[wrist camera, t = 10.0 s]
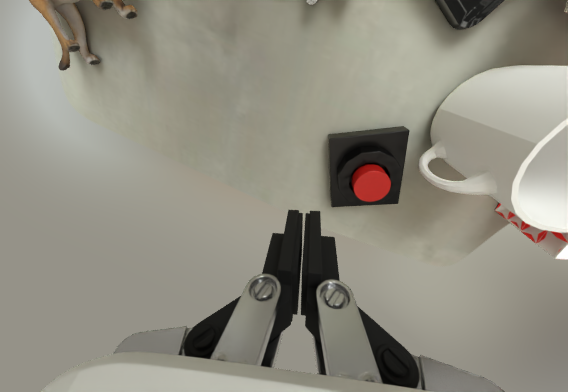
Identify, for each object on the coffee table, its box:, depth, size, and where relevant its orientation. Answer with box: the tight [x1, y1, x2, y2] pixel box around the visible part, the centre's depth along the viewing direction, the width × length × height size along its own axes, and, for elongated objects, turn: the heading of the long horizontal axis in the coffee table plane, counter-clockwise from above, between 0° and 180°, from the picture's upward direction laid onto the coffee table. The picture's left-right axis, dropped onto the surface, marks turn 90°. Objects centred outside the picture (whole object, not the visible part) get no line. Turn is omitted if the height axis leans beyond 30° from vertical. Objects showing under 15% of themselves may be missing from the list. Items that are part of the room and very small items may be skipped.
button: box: [352, 164, 391, 202], centre depth 23 cm, size 4×4×2 cm
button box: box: [328, 126, 409, 207], centre depth 24 cm, size 9×8×4 cm
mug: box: [418, 65, 568, 233], centre depth 17 cm, size 10×12×12 cm
